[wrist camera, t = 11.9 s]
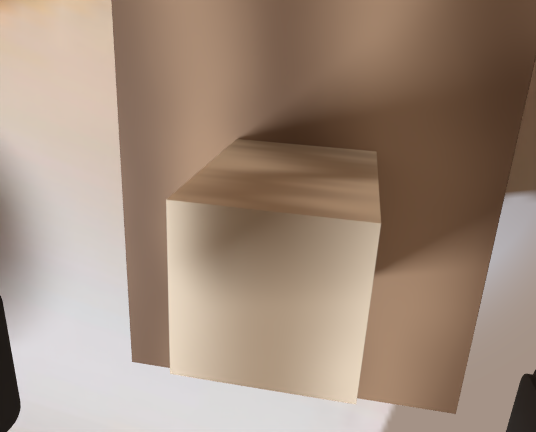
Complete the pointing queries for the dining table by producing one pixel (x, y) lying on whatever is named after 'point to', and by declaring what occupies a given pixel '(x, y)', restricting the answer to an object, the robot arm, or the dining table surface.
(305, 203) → the birch block
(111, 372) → the dining table surface
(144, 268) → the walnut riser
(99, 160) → the dining table surface
